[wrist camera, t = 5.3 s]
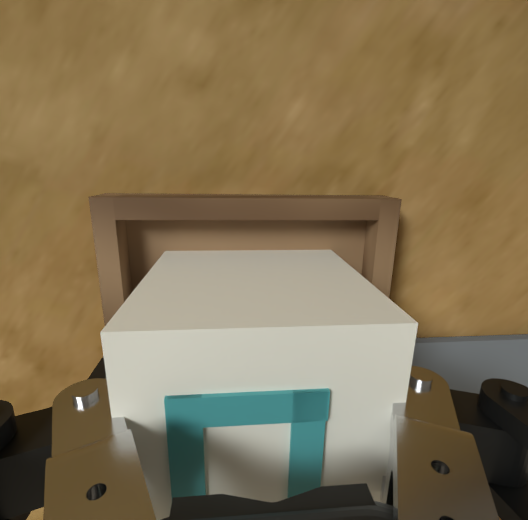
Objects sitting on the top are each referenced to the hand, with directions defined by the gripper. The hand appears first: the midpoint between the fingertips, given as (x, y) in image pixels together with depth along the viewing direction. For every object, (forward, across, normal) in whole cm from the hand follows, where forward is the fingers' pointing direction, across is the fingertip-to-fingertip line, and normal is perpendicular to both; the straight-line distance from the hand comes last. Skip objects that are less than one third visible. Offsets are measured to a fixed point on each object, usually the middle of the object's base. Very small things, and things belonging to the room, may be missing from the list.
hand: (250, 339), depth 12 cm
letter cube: (+1, 0, 0) cm, 1 cm away
